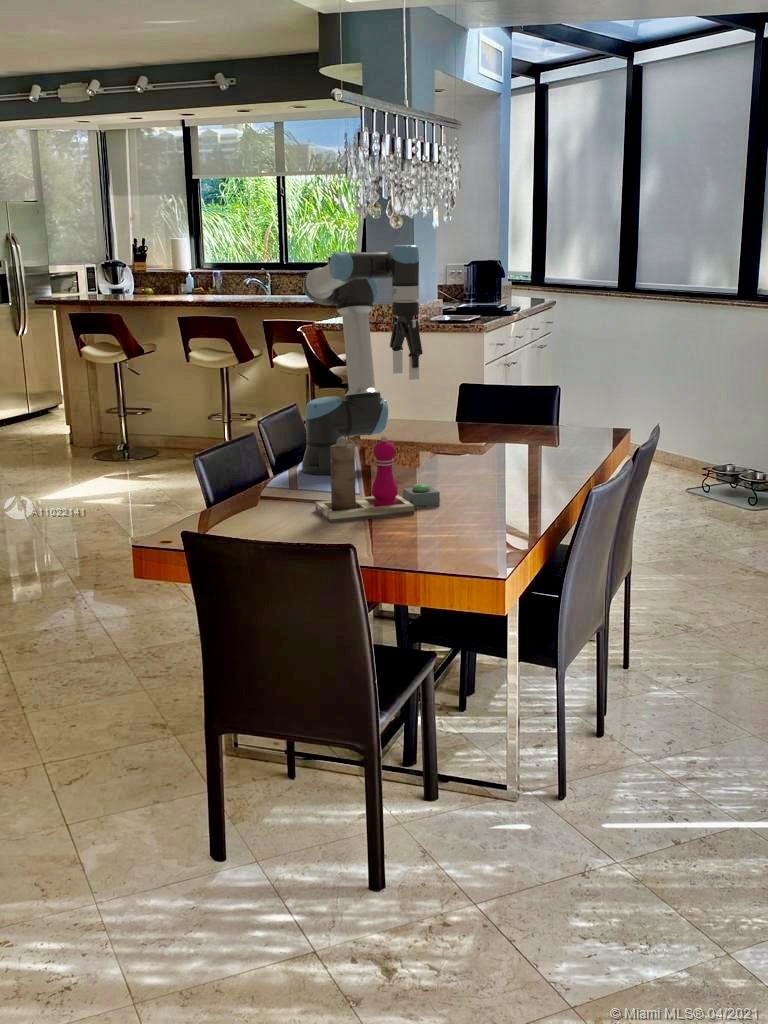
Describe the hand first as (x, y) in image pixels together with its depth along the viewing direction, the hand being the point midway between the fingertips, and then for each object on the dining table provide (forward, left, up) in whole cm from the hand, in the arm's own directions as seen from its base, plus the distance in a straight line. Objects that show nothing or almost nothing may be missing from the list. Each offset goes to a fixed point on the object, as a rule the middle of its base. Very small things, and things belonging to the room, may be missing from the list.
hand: (405, 376), depth 306 cm
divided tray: (+17, -19, -35) cm, 43 cm away
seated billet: (+17, -25, -35) cm, 46 cm away
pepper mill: (+17, -13, -34) cm, 40 cm away
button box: (+14, -1, -35) cm, 37 cm away
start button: (+14, -1, -33) cm, 36 cm away
